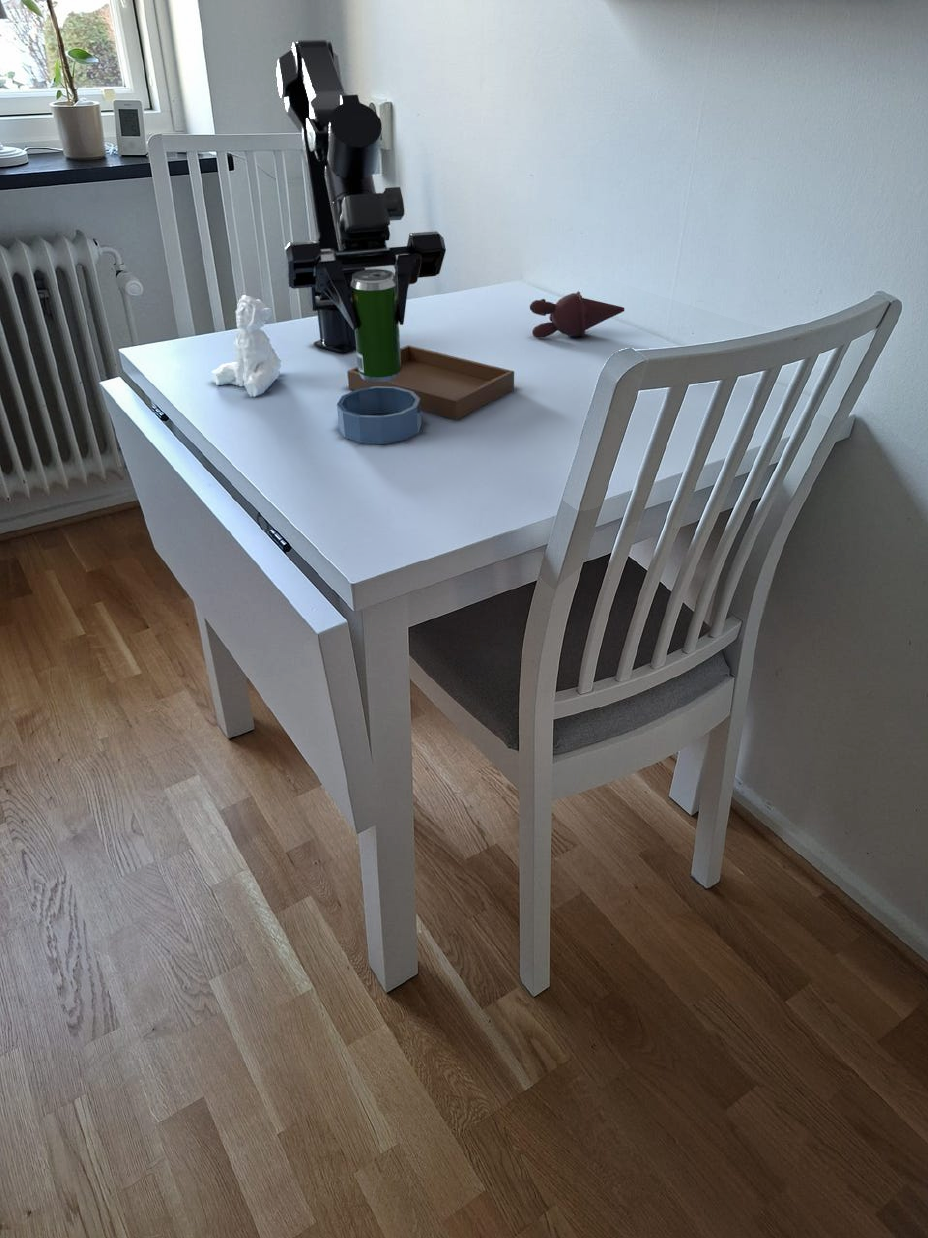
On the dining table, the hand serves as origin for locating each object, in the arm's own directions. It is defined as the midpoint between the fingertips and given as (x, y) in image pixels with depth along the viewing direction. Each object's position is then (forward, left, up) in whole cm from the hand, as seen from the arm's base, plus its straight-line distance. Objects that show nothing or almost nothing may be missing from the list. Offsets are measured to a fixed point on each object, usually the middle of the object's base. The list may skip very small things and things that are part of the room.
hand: (378, 325), depth 103 cm
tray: (-4, +14, -13) cm, 20 cm away
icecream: (0, +46, -13) cm, 48 cm away
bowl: (-1, 0, -13) cm, 13 cm away
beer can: (-1, +1, -7) cm, 7 cm away
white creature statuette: (-27, +2, -13) cm, 30 cm away
